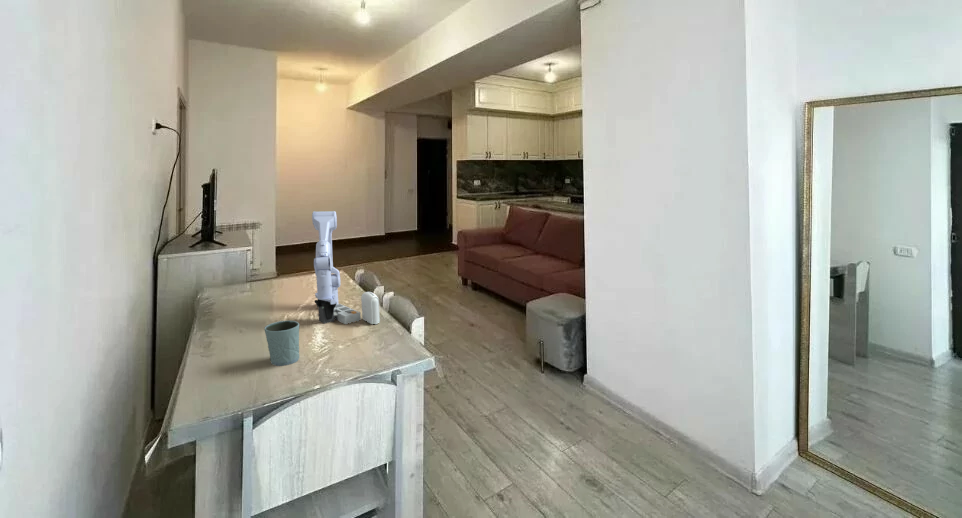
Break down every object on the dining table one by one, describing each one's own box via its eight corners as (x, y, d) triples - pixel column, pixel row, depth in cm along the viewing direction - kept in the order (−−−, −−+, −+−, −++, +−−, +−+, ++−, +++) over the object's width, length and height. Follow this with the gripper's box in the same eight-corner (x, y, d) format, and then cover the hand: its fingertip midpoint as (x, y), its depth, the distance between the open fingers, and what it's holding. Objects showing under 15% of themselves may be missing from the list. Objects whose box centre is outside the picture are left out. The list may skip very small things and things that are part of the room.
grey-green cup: (306, 354, 148) (303, 320, 146) (294, 367, 138) (291, 330, 136) (275, 354, 148) (272, 320, 145) (262, 367, 138) (258, 331, 135)
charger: (319, 321, 182) (318, 307, 181) (335, 317, 187) (334, 303, 186) (324, 323, 179) (323, 309, 177) (340, 319, 184) (339, 305, 182)
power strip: (324, 314, 190) (324, 305, 190) (339, 311, 195) (339, 302, 195) (345, 324, 178) (344, 314, 177) (360, 320, 183) (360, 311, 182)
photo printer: (360, 319, 184) (359, 290, 182) (370, 317, 187) (369, 289, 185) (371, 325, 176) (370, 296, 174) (381, 323, 179) (380, 294, 177)
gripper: (342, 287, 177) (343, 319, 179) (325, 281, 187) (327, 311, 189) (325, 290, 172) (327, 323, 174) (309, 283, 182) (311, 315, 184)
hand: (326, 317), depth 181 cm, fingers closed on charger, 4 cm apart
